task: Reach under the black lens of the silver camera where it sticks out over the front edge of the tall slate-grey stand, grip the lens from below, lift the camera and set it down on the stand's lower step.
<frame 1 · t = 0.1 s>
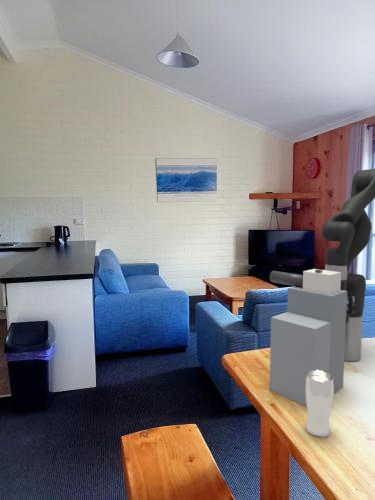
hand: (332, 321, 128), 17 cm above the table, tool pointing down, fingers open, 8 cm apart
beer glass: (317, 430, 93), on the table
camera: (321, 290, 113), point 32 cm above the table, touching stepped stand
stepped stand: (306, 388, 114), on the table
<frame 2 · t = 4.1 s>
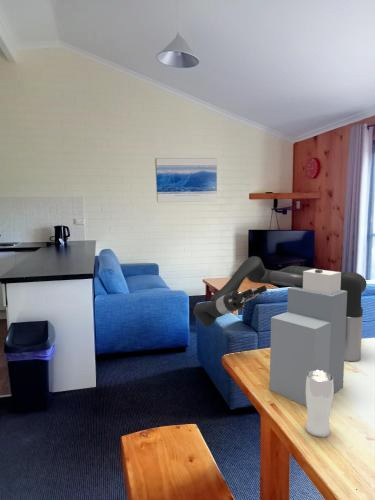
hand: (258, 289, 131), 28 cm above the table, tool pointing upward, fingers open, 8 cm apart
nothing on the table moved.
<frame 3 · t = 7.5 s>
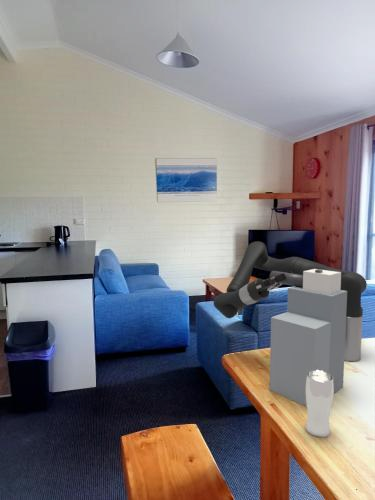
hand: (288, 274, 121), 35 cm above the table, tool pointing upward, fingers closed on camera, 4 cm apart
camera: (321, 290, 113), point 32 cm above the table, touching gripper, stepped stand
everything else where it was.
when the fingers open (29 cm above the table, at t = 14.3 s): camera drops 1 cm, resting on stepped stand.
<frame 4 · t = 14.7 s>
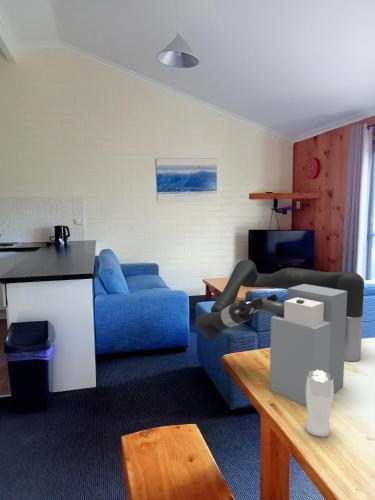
hand: (269, 299, 116), 29 cm above the table, tool pointing upward, fingers open, 7 cm apart
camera: (303, 321, 107), point 24 cm above the table, touching stepped stand
everything else where it was.
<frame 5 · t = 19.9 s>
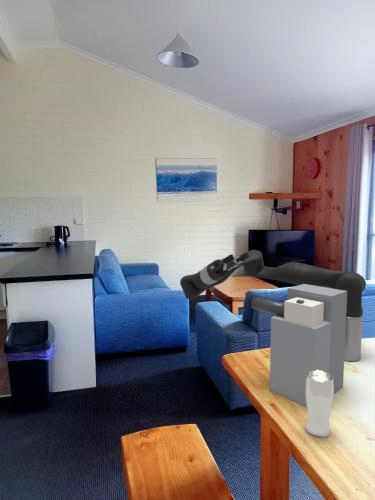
hand: (240, 255, 130), 41 cm above the table, tool pointing upward, fingers open, 8 cm apart
nothing on the table moved.
at the end: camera inside the target area (0.4 cm from its centre), point 24.0 cm above the table; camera tilted 0°; the gripper is holding nothing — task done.
